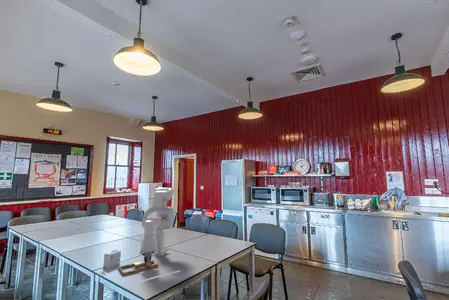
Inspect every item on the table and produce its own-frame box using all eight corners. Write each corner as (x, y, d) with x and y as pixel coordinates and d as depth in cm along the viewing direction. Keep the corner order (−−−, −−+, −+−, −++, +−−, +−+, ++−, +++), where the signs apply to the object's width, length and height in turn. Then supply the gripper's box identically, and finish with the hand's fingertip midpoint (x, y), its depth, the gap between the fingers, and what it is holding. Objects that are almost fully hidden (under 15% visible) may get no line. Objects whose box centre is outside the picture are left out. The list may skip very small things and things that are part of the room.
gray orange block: (148, 264, 178) (149, 250, 178) (149, 266, 174) (151, 252, 175) (144, 265, 176) (145, 250, 177) (146, 267, 172) (147, 253, 173)
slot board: (152, 263, 184) (152, 259, 184) (158, 268, 173) (158, 264, 173) (118, 270, 169) (118, 266, 169) (122, 277, 157) (122, 272, 158)
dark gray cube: (144, 266, 175) (144, 260, 176) (145, 268, 172) (146, 262, 172) (138, 267, 173) (139, 262, 173) (140, 269, 169) (140, 263, 170)
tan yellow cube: (138, 267, 173) (139, 262, 173) (140, 269, 170) (140, 263, 170) (133, 268, 170) (133, 263, 171) (135, 270, 167) (135, 264, 168)
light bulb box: (114, 263, 183) (115, 249, 184) (120, 264, 180) (121, 250, 182) (102, 268, 173) (103, 253, 175) (109, 269, 171) (110, 254, 172)
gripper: (157, 234, 185) (155, 257, 183) (136, 237, 175) (135, 262, 173) (160, 236, 179) (159, 260, 177) (139, 239, 170) (138, 265, 167)
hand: (147, 261), depth 175 cm, fingers closed on gray orange block, 2 cm apart
